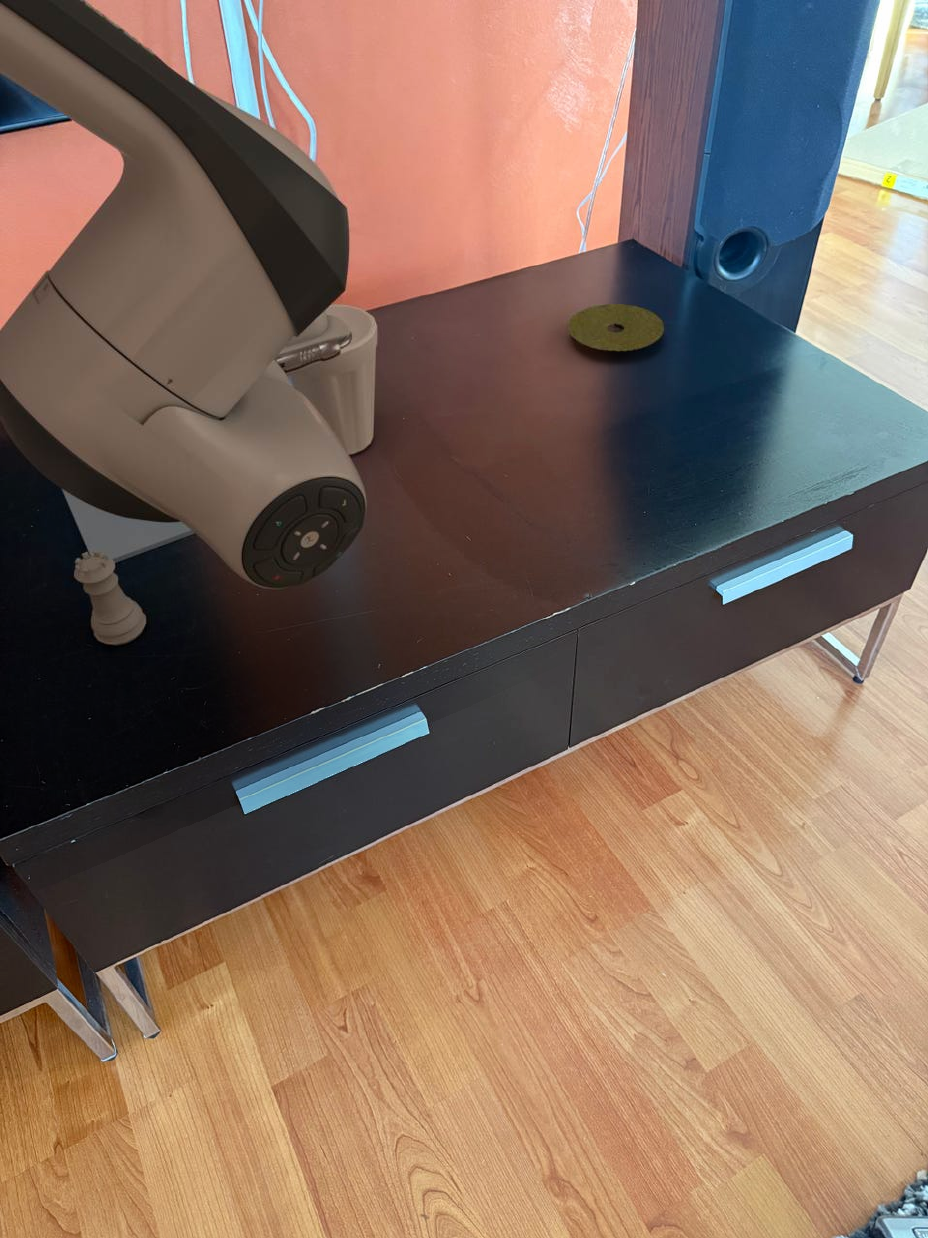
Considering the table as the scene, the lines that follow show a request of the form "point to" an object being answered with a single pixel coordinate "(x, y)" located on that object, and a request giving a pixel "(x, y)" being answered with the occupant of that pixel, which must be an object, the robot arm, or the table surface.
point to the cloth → (121, 531)
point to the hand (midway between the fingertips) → (141, 302)
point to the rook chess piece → (108, 601)
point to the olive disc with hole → (616, 327)
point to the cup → (346, 381)
